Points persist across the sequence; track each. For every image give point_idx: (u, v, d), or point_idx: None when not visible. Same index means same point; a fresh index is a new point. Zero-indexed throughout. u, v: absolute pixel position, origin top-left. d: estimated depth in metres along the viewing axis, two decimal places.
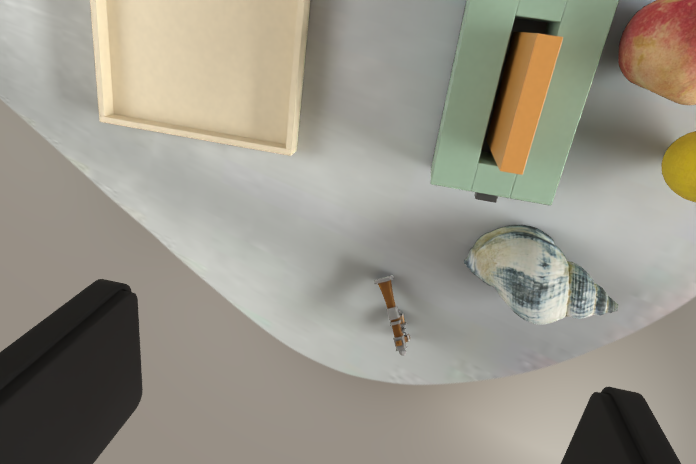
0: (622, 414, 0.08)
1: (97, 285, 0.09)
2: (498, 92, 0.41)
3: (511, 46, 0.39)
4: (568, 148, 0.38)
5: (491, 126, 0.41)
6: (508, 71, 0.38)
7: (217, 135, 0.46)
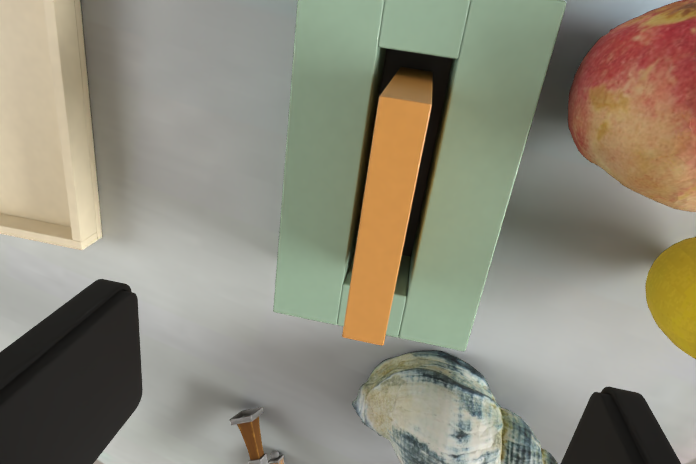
0: (622, 414, 0.08)
1: (97, 285, 0.09)
2: None
3: None
4: (486, 268, 0.22)
5: None
6: None
7: None
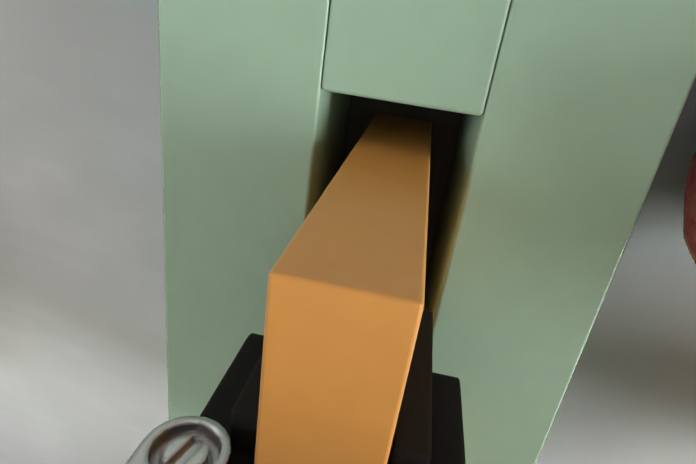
0: None
1: None
2: None
3: None
4: None
5: None
6: None
7: None
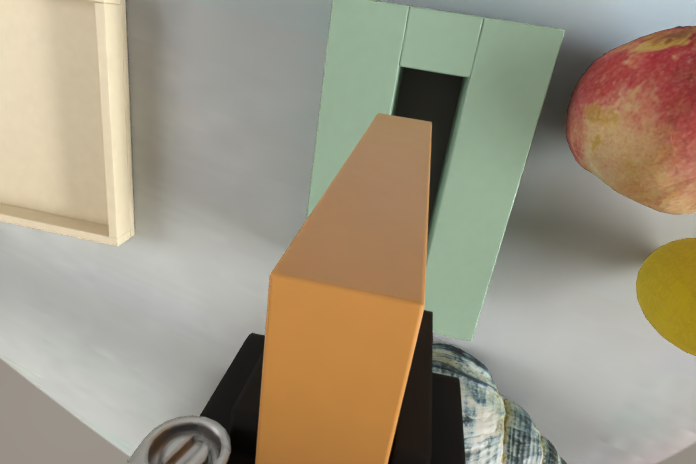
0: None
1: None
2: None
3: None
4: (492, 264, 0.25)
5: None
6: None
7: (19, 214, 0.32)
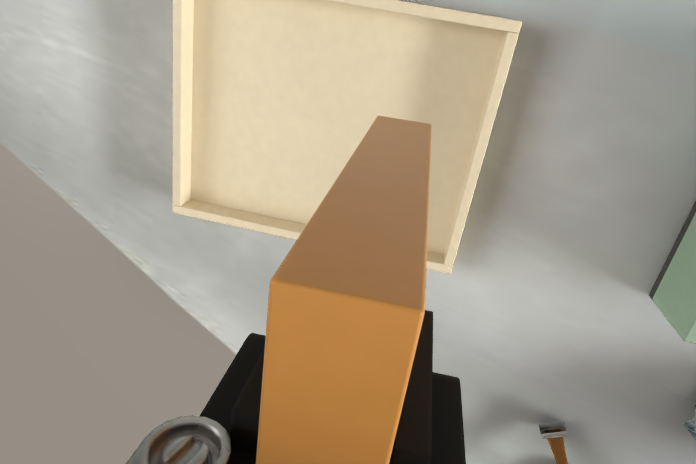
0: None
1: None
2: None
3: None
4: None
5: None
6: None
7: None
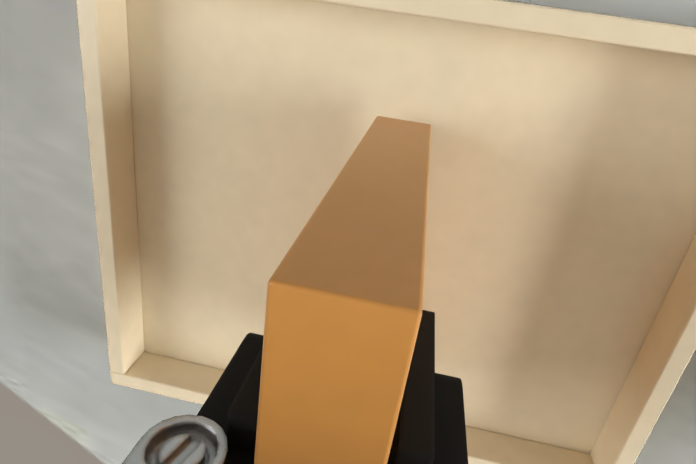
0: None
1: None
2: None
3: None
4: None
5: None
6: None
7: None
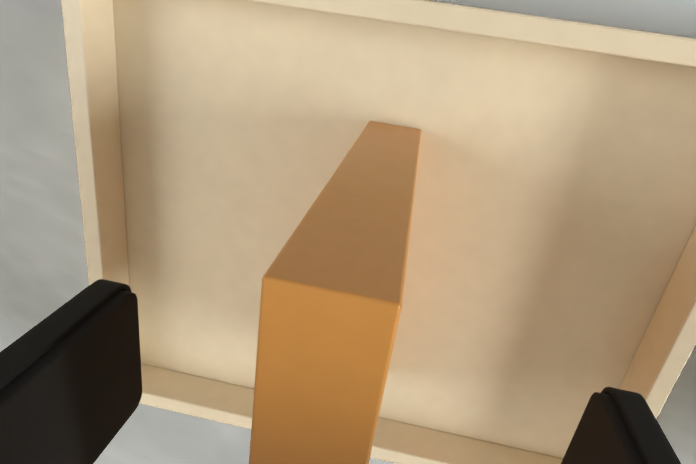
0: (622, 414, 0.08)
1: (97, 285, 0.09)
2: None
3: None
4: None
5: None
6: None
7: (403, 444, 0.18)
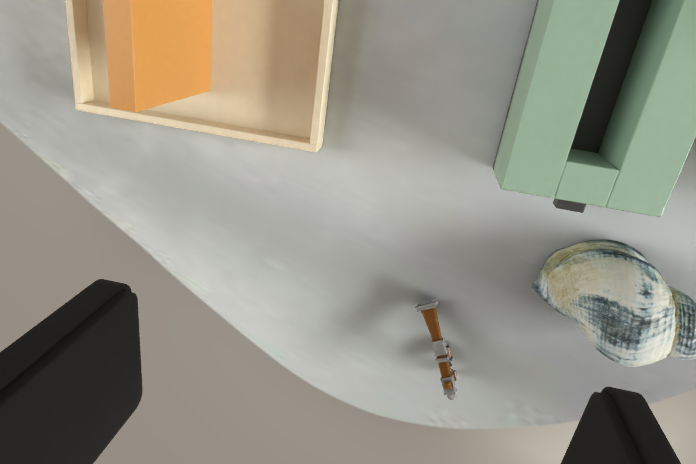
0: (622, 414, 0.08)
1: (97, 285, 0.09)
2: None
3: None
4: (691, 142, 0.28)
5: None
6: None
7: (223, 127, 0.36)
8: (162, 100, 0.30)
